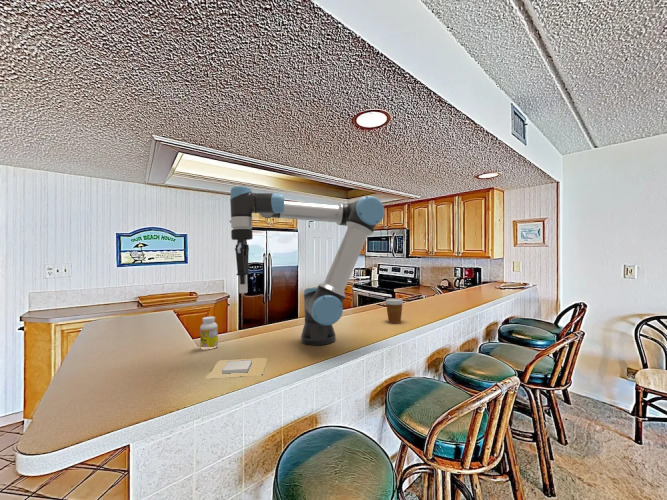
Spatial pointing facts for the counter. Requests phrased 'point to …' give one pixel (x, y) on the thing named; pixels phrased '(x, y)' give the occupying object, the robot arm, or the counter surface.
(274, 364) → the counter surface
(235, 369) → the tile
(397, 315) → the disposable coffee cup
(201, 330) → the supplement bottle
